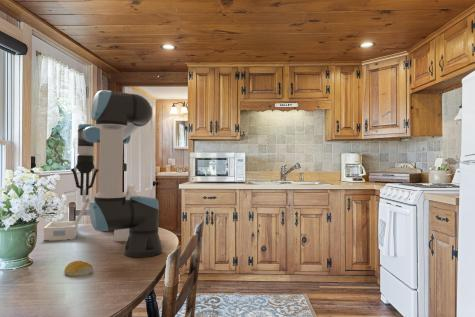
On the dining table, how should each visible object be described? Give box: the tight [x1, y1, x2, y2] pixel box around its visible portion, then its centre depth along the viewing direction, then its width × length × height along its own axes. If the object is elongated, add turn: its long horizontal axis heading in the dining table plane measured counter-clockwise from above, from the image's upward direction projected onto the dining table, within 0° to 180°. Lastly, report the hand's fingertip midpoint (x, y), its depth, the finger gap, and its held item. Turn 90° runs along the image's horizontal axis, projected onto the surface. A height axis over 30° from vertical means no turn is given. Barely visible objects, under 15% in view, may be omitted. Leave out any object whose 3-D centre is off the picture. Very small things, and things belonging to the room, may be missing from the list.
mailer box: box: [43, 220, 79, 241], centre depth 176 cm, size 16×13×6 cm
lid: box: [74, 196, 92, 225], centre depth 179 cm, size 16×13×1 cm
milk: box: [113, 184, 141, 242], centre depth 174 cm, size 12×12×26 cm
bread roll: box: [63, 260, 93, 278], centre depth 120 cm, size 8×9×4 cm
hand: (84, 201), depth 179 cm, fingers closed
